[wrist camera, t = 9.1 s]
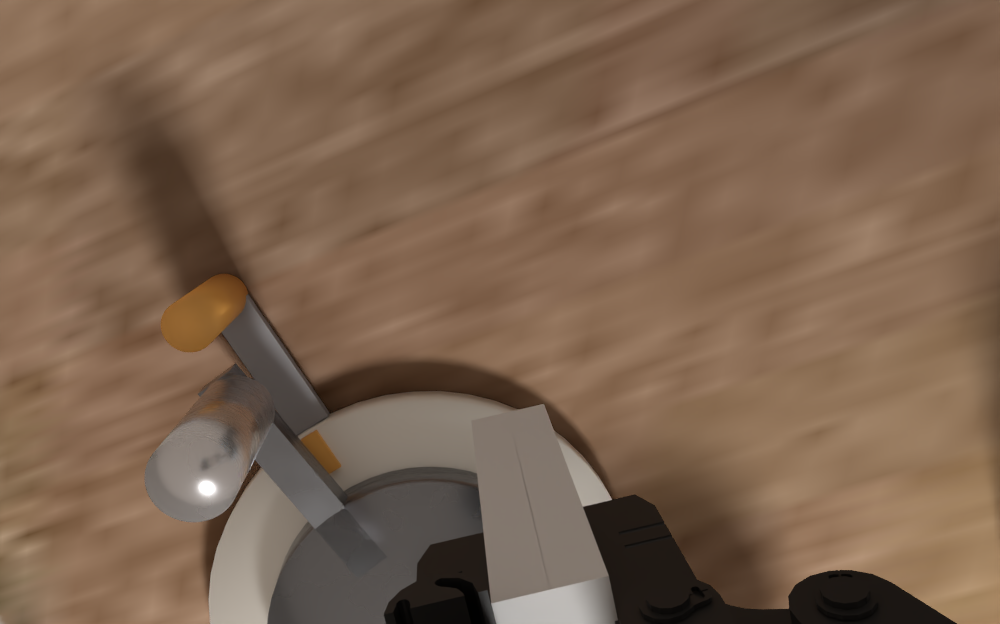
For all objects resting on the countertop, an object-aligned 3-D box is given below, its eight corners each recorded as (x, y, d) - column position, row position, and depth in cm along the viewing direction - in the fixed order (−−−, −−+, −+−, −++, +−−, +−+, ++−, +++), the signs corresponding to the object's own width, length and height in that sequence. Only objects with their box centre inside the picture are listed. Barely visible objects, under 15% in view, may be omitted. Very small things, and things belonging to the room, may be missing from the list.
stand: (569, 205, 37) (597, 217, 32) (653, 714, 43) (690, 805, 37) (123, 293, 36) (67, 323, 30) (273, 803, 42) (250, 910, 36)
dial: (631, 626, 40) (690, 763, 31) (398, 789, 41) (392, 968, 32) (355, 272, 35) (334, 318, 26) (96, 463, 36) (-9, 569, 27)
